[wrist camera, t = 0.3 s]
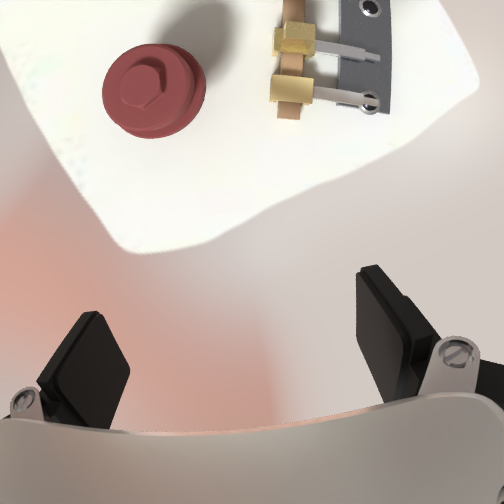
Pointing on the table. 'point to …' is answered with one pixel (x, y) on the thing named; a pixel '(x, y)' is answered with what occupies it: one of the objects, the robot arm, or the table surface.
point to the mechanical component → (154, 90)
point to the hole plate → (373, 41)
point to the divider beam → (303, 78)
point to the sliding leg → (313, 43)
